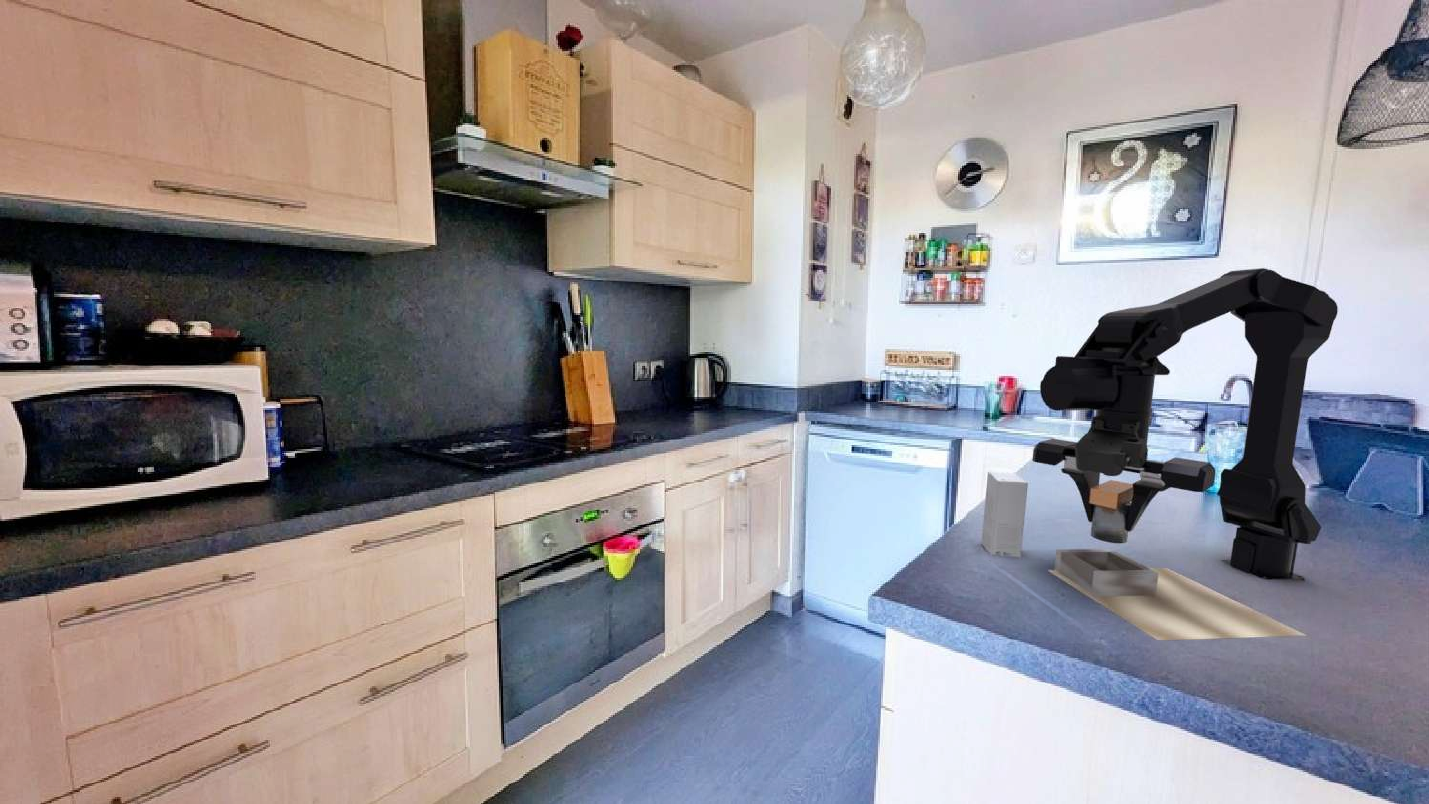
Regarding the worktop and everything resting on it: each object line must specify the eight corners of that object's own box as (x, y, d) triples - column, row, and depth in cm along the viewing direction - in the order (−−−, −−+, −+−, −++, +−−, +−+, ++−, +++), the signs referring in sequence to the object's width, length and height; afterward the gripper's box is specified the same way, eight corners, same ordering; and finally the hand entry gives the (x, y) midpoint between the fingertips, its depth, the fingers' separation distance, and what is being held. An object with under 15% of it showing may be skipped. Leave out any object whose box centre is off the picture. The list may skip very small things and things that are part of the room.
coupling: (1101, 528, 79) (1106, 479, 78) (1135, 536, 76) (1141, 485, 75) (1081, 538, 75) (1086, 487, 74) (1116, 548, 72) (1122, 494, 71)
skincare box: (1021, 561, 84) (1029, 482, 82) (990, 558, 85) (997, 480, 83) (1009, 546, 90) (1015, 472, 88) (980, 543, 91) (986, 470, 89)
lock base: (1165, 571, 81) (1168, 547, 81) (1305, 640, 64) (1310, 610, 63) (1047, 574, 80) (1049, 549, 79) (1157, 645, 62) (1161, 614, 61)
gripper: (1019, 405, 75) (1009, 518, 77) (1199, 426, 61) (1180, 564, 63) (1054, 399, 82) (1044, 504, 84) (1224, 417, 68) (1207, 542, 70)
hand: (1110, 526), depth 75 cm, fingers closed on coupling, 4 cm apart
